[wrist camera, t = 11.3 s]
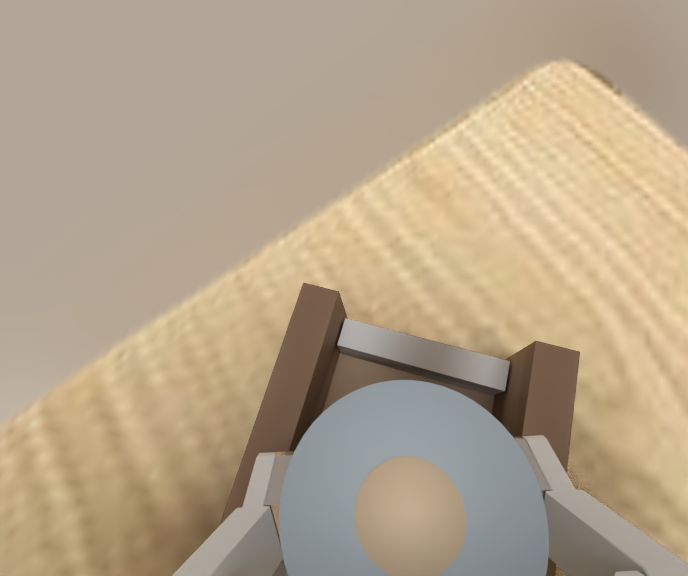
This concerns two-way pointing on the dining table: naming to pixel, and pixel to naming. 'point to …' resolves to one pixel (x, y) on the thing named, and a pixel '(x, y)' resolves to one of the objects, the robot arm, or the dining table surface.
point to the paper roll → (411, 490)
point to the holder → (400, 364)
